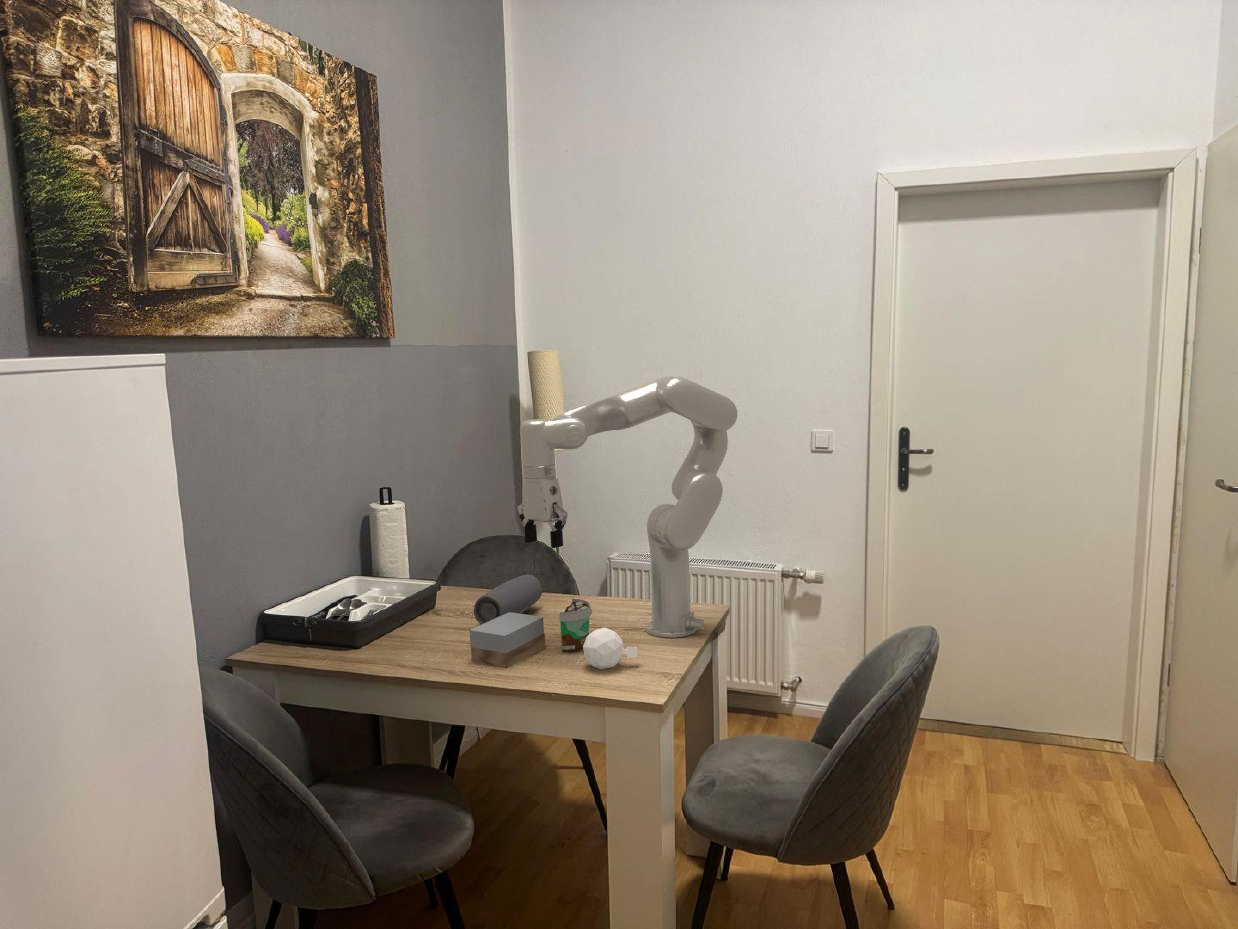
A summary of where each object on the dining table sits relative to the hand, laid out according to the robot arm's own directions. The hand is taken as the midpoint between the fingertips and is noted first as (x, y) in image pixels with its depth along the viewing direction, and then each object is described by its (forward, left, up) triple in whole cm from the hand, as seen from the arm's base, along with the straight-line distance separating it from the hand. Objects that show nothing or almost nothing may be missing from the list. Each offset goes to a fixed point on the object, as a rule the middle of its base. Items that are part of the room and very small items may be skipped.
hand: (544, 544), depth 202 cm
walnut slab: (+5, +9, -25) cm, 27 cm away
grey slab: (+5, +9, -21) cm, 24 cm away
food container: (-7, -3, -25) cm, 26 cm away
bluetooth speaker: (+22, -13, -25) cm, 36 cm away
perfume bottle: (-21, +6, -25) cm, 33 cm away
